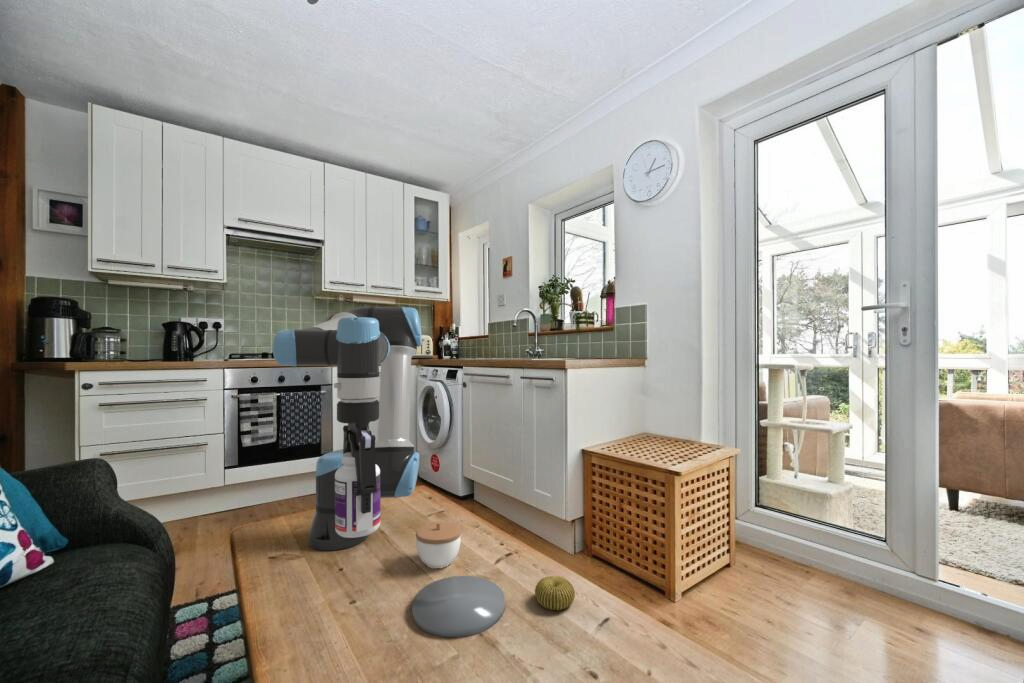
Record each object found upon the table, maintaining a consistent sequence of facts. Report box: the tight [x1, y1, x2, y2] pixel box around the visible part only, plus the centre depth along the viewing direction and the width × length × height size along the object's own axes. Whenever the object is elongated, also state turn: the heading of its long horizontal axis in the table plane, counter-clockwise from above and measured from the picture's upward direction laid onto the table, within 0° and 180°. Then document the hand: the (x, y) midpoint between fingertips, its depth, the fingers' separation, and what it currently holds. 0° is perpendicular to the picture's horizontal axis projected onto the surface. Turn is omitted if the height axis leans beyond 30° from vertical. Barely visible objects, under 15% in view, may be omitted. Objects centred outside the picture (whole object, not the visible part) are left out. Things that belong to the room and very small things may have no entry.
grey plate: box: [411, 575, 506, 638], centre depth 86 cm, size 18×18×2 cm
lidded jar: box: [415, 520, 462, 569], centre depth 104 cm, size 11×11×9 cm
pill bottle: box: [335, 452, 382, 538], centre depth 82 cm, size 8×8×14 cm
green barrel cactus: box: [534, 575, 576, 611], centre depth 88 cm, size 8×4×8 cm
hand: (358, 521), depth 82 cm, fingers closed on pill bottle, 8 cm apart
